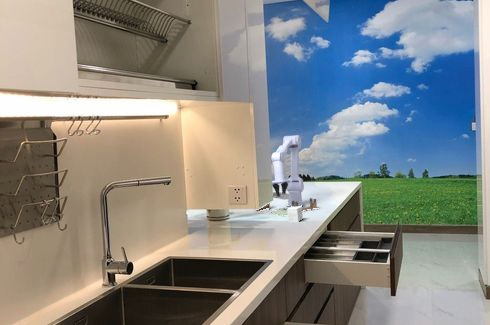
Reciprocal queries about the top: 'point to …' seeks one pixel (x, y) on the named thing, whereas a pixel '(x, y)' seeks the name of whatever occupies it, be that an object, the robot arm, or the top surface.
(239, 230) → the top surface
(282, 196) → the rail
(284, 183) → the robot arm
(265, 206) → the food container
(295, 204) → the stand
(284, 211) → the mat
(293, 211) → the product box
